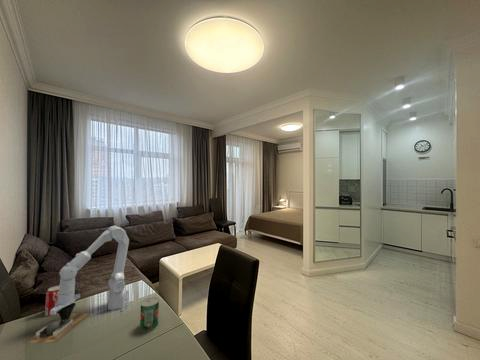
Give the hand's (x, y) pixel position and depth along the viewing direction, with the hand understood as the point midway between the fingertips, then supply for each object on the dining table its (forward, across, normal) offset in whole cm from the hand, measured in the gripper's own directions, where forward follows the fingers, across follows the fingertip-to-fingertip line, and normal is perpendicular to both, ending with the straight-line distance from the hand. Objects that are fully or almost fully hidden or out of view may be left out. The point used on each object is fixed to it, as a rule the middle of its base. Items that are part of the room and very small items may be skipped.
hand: (65, 321), depth 92 cm
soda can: (+2, -10, -14) cm, 18 cm away
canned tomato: (+2, +2, +40) cm, 40 cm away
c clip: (+1, +5, 0) cm, 5 cm away
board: (+2, +2, 0) cm, 3 cm away
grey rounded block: (+2, +6, 0) cm, 6 cm away
